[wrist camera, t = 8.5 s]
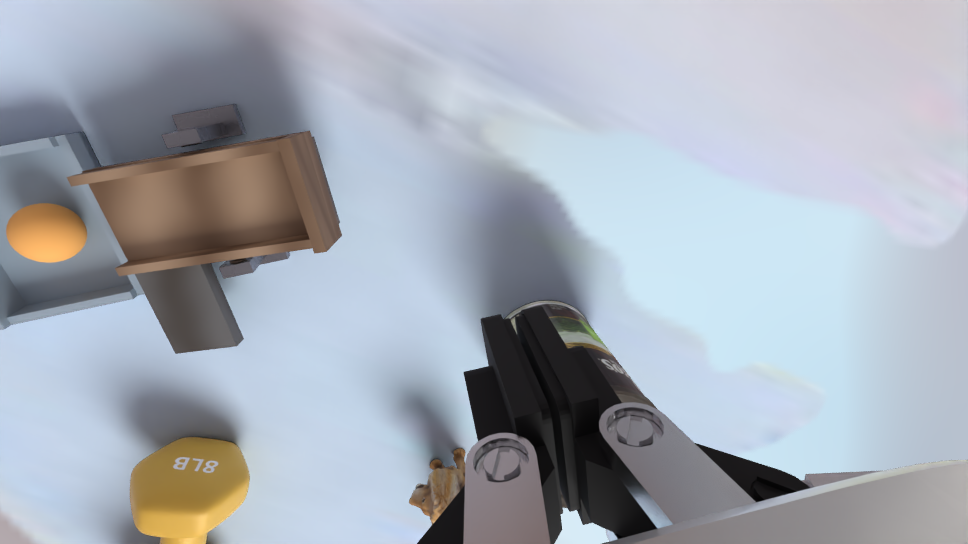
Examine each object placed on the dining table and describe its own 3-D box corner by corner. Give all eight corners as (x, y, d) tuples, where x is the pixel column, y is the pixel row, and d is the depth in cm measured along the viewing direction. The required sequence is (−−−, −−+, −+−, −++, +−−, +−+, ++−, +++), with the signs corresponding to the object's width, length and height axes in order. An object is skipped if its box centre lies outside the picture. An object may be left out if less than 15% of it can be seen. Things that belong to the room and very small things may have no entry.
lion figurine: (403, 440, 46) (404, 517, 38) (453, 421, 46) (465, 494, 38) (452, 533, 52) (462, 617, 44) (496, 516, 52) (515, 596, 44)
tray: (83, 131, 32) (51, 136, 29) (158, 282, 36) (137, 300, 34) (-69, 158, 31) (-117, 167, 28) (28, 310, 36) (-5, 330, 33)
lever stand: (235, 104, 33) (206, 108, 28) (290, 255, 37) (273, 282, 32) (177, 114, 32) (136, 120, 27) (239, 265, 37) (214, 294, 32)
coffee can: (562, 278, 42) (633, 364, 30) (607, 356, 47) (687, 461, 34) (467, 337, 43) (496, 446, 30) (520, 409, 47) (565, 531, 34)
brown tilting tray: (318, 127, 30) (289, 137, 26) (374, 313, 36) (357, 345, 32) (111, 163, 32) (54, 178, 28) (195, 335, 38) (157, 369, 34)
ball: (50, 203, 29) (80, 192, 33) (-24, 219, 28) (14, 205, 32) (83, 261, 31) (108, 244, 34) (13, 278, 30) (46, 258, 34)
